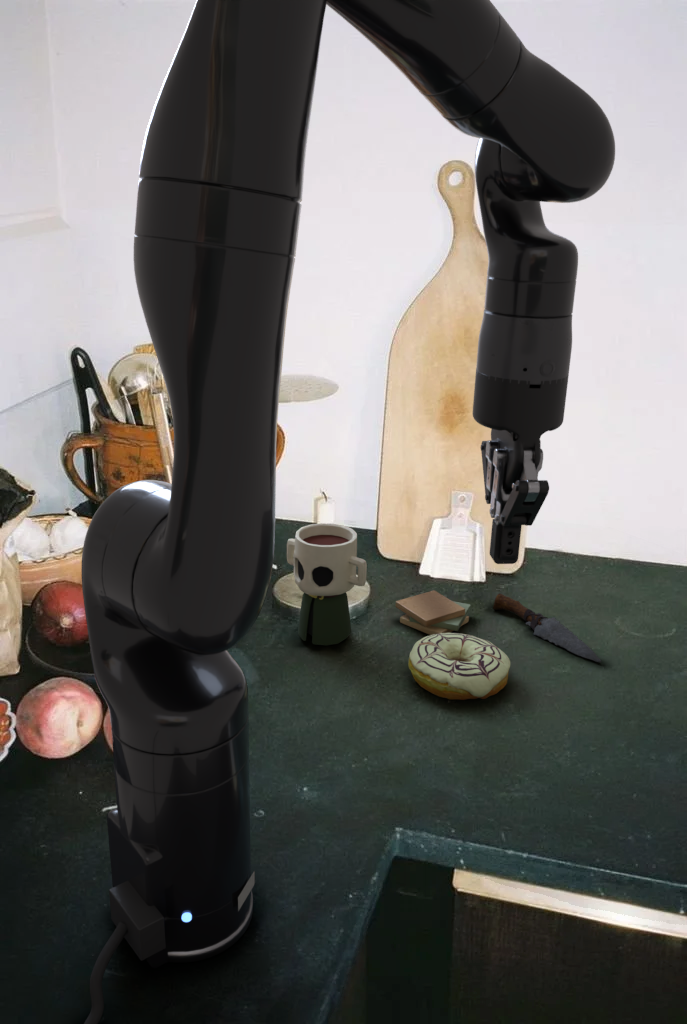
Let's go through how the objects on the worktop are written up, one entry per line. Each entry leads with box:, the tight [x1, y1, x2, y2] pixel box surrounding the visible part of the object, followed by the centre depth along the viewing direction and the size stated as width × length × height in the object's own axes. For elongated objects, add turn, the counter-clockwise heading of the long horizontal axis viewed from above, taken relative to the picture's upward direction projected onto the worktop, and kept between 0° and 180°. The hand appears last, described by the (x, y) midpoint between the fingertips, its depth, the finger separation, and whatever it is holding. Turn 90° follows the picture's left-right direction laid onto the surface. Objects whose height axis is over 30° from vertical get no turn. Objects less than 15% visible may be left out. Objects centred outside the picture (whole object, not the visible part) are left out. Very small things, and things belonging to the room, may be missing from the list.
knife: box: [492, 593, 602, 663], centre depth 111 cm, size 17×2×5 cm
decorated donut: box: [408, 632, 511, 701], centre depth 101 cm, size 10×11×4 cm
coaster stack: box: [395, 589, 472, 636], centre depth 114 cm, size 9×8×2 cm
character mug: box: [286, 522, 368, 646], centre depth 108 cm, size 11×7×13 cm, turn 56°
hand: (503, 560), depth 83 cm, fingers closed
